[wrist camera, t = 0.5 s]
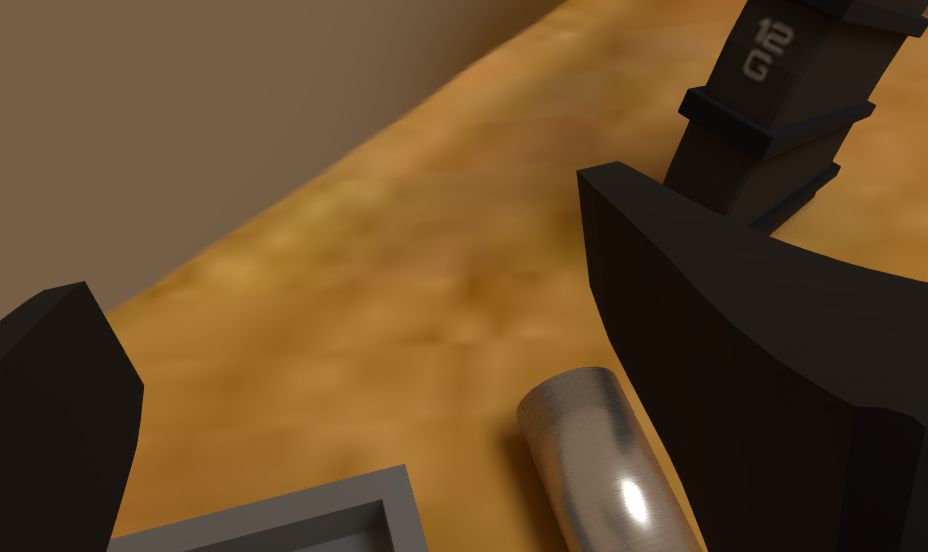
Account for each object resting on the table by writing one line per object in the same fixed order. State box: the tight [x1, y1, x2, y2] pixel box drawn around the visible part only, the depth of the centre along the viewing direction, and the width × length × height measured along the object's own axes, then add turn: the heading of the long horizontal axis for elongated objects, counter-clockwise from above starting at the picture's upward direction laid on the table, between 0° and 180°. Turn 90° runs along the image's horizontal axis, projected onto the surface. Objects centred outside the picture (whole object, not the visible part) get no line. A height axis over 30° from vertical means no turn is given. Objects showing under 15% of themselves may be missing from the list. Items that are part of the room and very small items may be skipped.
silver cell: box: [517, 367, 703, 552], centre depth 27 cm, size 9×4×4 cm, turn 17°
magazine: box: [663, 0, 928, 236], centre depth 34 cm, size 4×13×15 cm, turn 133°
